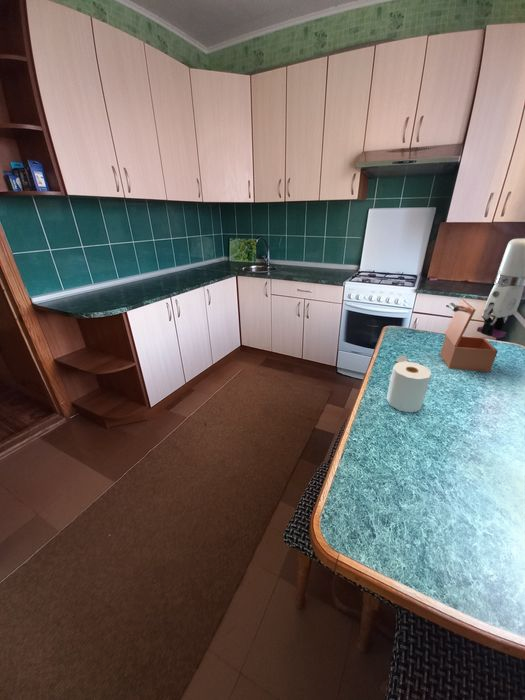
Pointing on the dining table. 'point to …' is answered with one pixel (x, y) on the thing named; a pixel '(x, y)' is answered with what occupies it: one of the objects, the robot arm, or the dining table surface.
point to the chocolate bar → (494, 332)
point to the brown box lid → (459, 321)
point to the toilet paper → (408, 386)
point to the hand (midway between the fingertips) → (490, 333)
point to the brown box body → (469, 354)
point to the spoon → (400, 359)
